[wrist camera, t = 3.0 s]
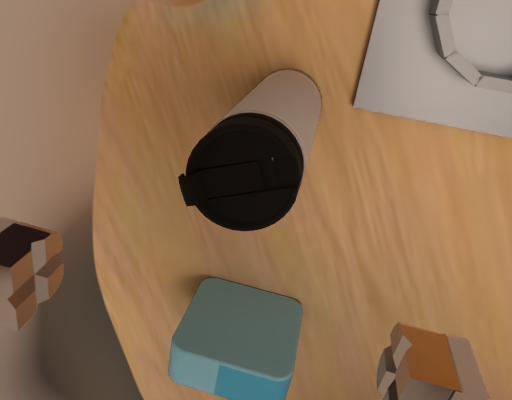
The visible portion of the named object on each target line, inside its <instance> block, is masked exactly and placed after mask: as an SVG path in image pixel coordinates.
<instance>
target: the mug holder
mask: <svg viewBox="0 0 512 400" xmlns="http://www.w3.org/2000/svg"><path fill="white" fill-rule="evenodd" d="M353 108H358V109H363V110H369V111H374V112H379V113H384V114H389V115H394V116H400V117H405V118H410V119H415V120H420V121H426V122H431V123H436V124H441V125H446V126H452V127H457V128H462V129H467V130H472V131H477V132H483V133H488V134H493V135H498V136H503V137H509V138H512V0H379V3H378V7H377V11H376V15H375V19H374V23H373V27H372V31H371V35H370V39H369V43H368V47H367V51H366V55H365V59H364V63H363V67H362V71H361V75H360V79H359V83H358V87H357V91H356V95H355V99H354V103H353Z"/></svg>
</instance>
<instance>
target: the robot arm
mask: <svg viewBox="0 0 512 400" xmlns="http://www.w3.org/2000/svg"><path fill="white" fill-rule="evenodd" d="M62 248H63V247H62V236H61V235H60V234H58V233H57V232H54V231H51V230H47V229H44V228H41V227H37V226H34V225H30V224H27V223H23V222H18V221H15V220H12V219H8V218H5V217H0V327H3V328H7V329H11V330H15V331H19V330H20V329H21V328H22V327H23V326H24V325H25V324H26V323H27V321H28V320H29V319H30V318H31V317H32V316H33V315H34V314H35V313H36V312H37V303H40V302H42V301H45V300H48V299H49V298H50V297H51V296H52V295H53V294H54V293H55V291H56V290H57V289H58V287H59V285H60V283H61V281H62V277H63V272H64V264H63V261H62V260H61V258H60V257H59V255H58V254H57V253H58V252H59V250H61V249H62ZM390 336H391V346H389V347H387V348H385V349H384V351H383V353H382V356H381V358H380V362H379V366H378V371H377V391H378V392H379V394H380V395H381V396H382V398H383V400H490V399H489V396H488V393H487V391H486V388H485V385H484V382H483V379H482V376H481V374H480V371H479V368H478V365H477V362H476V359H475V356H474V354H473V351H472V348H471V345H470V343H469V341H468V340H467V339H464V338H460V337H456V336H452V335H448V334H441V333H437V332H433V331H429V330H425V329H422V328H418V327H414V326H410V325H406V324H402V323H397V324H396V325H395V326H394V328H393V330H392V333H391V335H390Z"/></svg>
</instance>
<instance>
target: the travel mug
mask: <svg viewBox="0 0 512 400" xmlns="http://www.w3.org/2000/svg"><path fill="white" fill-rule="evenodd" d="M321 108H322V97H321V93H320V90H319V88H318V86H317V84H316V83H315V82H314V80H313V79H312V78H311V77H309V76H308V75H307V74H305V73H303V72H301V71H298V70H295V69H282V70H278V71H275V72H273V73H272V74H270V75H269V76H267V77H266V78H265V79H264V80H263V81H262V82H261V83H260V84H259V85H257V86H256V87H255V88H254V89H253V90H252V91H251V92H250V93H249V94H248V95H247V96H246V97H245V98H243V99H242V100H241V101H240V102H239V103H238V104H237V105H236V106H235V107H234V108H233V109H232V110H231V111H230V112H228V113H227V114H226V115H225V116H224V117H223V118H222V119H221V120H220V121H219V122H218V123H217V124H216V125H214V127H213V128H212V129H211V131H210V132H208V133H207V134H206V135H205V136H204V137H203V138H202V139H201V140H200V141H199V142H198V144H197V145H196V146H195V147H194V149H193V150H192V152H191V155H190V157H189V159H188V163H187V167H186V176H185V175H184V174H181V175H180V176H179V177H178V179H179V185H180V188H181V192H182V195H183V198H184V201H185V203H186V205H187V206H193V205H196V207H197V208H198V209H199V211H200V212H201V213H202V214H203V215H204V216H205V217H207V218H208V219H209V220H211V221H212V222H214V223H216V224H218V225H220V226H222V227H225V228H228V229H232V230H238V231H254V230H258V229H262V228H266V227H268V226H270V225H272V224H274V223H276V222H277V221H279V220H280V219H281V218H283V217H284V216H285V215H286V214H287V212H288V211H289V210H290V209H291V207H292V206H293V204H294V202H295V200H296V197H297V194H298V191H299V188H300V185H301V183H302V180H303V177H304V173H305V170H306V166H307V162H308V158H309V155H310V151H311V147H312V143H313V140H314V136H315V132H316V128H317V125H318V121H319V117H320V113H321Z"/></svg>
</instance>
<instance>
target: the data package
mask: <svg viewBox="0 0 512 400" xmlns="http://www.w3.org/2000/svg"><path fill="white" fill-rule="evenodd" d="M302 313H303V309H302V306H301V304H300V303H299V302H298V301H296V300H295V299H292V298H289V297H286V296H282V295H278V294H274V293H271V292H267V291H263V290H260V289H256V288H252V287H249V286H245V285H241V284H237V283H234V282H230V281H226V280H223V279H219V278H207V279H205V280H203V281H202V282H201V284H200V286H199V288H198V289H197V291H196V293H195V295H194V297H193V299H192V301H191V303H190V305H189V306H188V308H187V310H186V312H185V314H184V316H183V318H182V320H181V322H180V324H179V325H178V327H177V329H176V331H175V333H174V335H173V337H172V341H171V350H170V359H169V367H168V373H169V376H170V378H171V379H172V380H173V381H174V382H176V383H178V384H181V385H184V386H188V387H191V388H194V389H198V390H201V391H204V392H208V393H211V394H214V395H218V396H221V397H224V398H228V399H231V400H285V398H286V395H287V391H288V388H289V385H290V381H291V378H292V375H293V371H294V365H295V358H296V352H297V345H298V339H299V332H300V326H301V319H302Z"/></svg>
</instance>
